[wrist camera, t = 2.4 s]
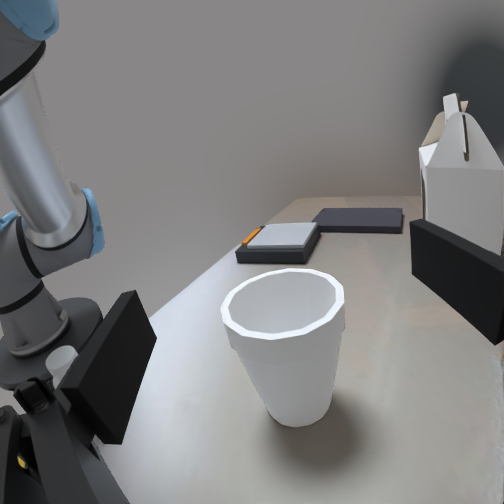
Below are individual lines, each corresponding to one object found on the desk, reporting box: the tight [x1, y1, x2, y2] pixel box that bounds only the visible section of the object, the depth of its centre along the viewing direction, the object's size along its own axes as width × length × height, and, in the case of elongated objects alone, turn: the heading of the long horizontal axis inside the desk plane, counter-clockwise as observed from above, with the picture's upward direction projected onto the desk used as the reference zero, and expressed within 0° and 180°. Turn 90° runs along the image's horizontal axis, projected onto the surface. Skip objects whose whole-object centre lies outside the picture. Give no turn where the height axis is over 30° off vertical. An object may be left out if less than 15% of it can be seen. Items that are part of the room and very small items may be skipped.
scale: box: [235, 222, 320, 264], centre depth 64 cm, size 14×14×3 cm
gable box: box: [419, 93, 504, 256], centre depth 42 cm, size 22×13×28 cm, turn 152°
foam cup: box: [220, 268, 345, 427], centre depth 25 cm, size 10×9×13 cm
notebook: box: [311, 208, 403, 233], centre depth 68 cm, size 13×2×21 cm
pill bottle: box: [46, 346, 78, 389], centre depth 27 cm, size 5×5×10 cm
